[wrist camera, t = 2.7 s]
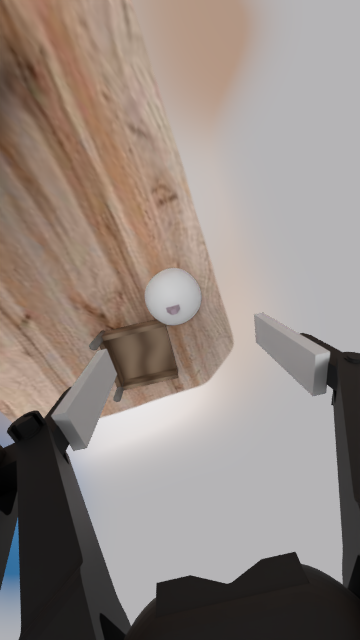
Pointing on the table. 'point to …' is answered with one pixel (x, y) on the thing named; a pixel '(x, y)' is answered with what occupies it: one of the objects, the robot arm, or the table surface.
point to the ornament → (173, 296)
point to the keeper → (138, 354)
